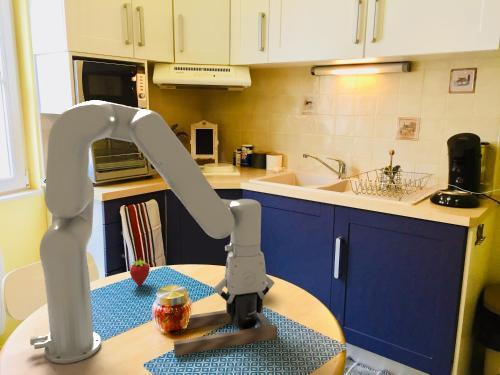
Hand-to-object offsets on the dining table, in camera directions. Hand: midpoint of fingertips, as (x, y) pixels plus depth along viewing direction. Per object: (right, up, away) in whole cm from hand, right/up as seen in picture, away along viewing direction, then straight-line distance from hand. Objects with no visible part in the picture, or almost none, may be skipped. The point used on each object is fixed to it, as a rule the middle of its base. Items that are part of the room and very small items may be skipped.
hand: (244, 312), depth 111 cm
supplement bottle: (0, -3, +1) cm, 4 cm away
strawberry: (-34, +1, +26) cm, 43 cm away
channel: (-6, -5, -1) cm, 8 cm away
